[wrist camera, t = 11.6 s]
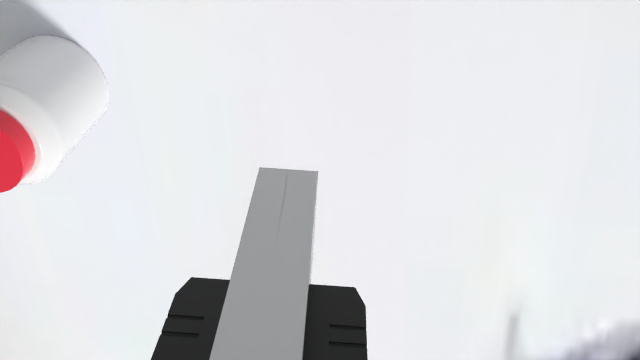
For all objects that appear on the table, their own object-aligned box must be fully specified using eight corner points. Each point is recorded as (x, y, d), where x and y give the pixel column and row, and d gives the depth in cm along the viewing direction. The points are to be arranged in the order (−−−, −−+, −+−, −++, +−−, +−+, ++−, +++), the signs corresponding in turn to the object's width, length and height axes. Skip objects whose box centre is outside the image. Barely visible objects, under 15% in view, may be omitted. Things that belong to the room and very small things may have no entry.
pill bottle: (78, 22, 39) (-6, 82, 30) (127, 116, 43) (66, 195, 34) (-13, 49, 40) (-120, 114, 31) (42, 137, 44) (-38, 218, 35)
